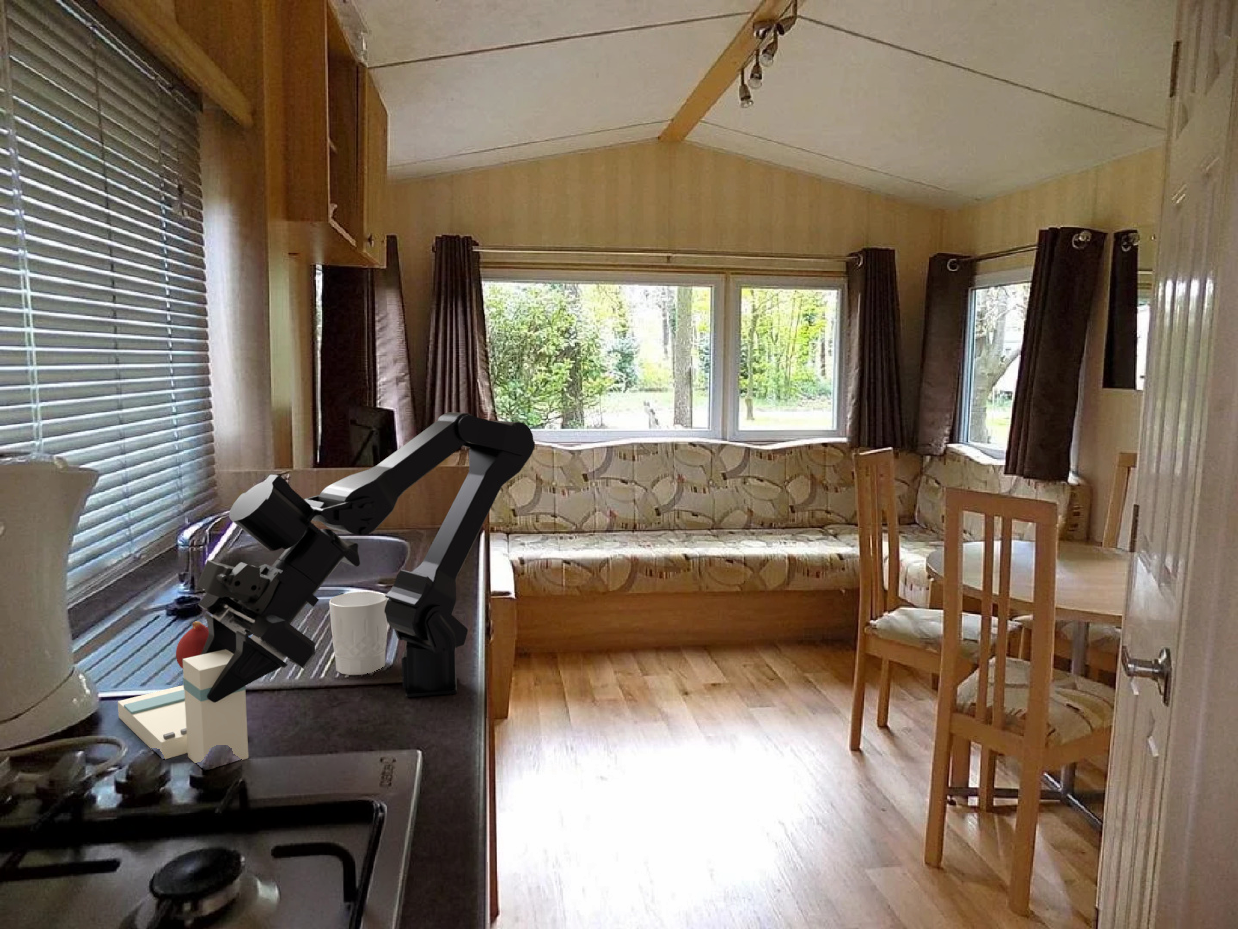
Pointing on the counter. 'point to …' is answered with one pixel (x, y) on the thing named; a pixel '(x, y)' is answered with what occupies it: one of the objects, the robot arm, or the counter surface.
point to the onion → (192, 642)
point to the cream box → (212, 708)
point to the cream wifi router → (158, 720)
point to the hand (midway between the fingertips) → (200, 693)
